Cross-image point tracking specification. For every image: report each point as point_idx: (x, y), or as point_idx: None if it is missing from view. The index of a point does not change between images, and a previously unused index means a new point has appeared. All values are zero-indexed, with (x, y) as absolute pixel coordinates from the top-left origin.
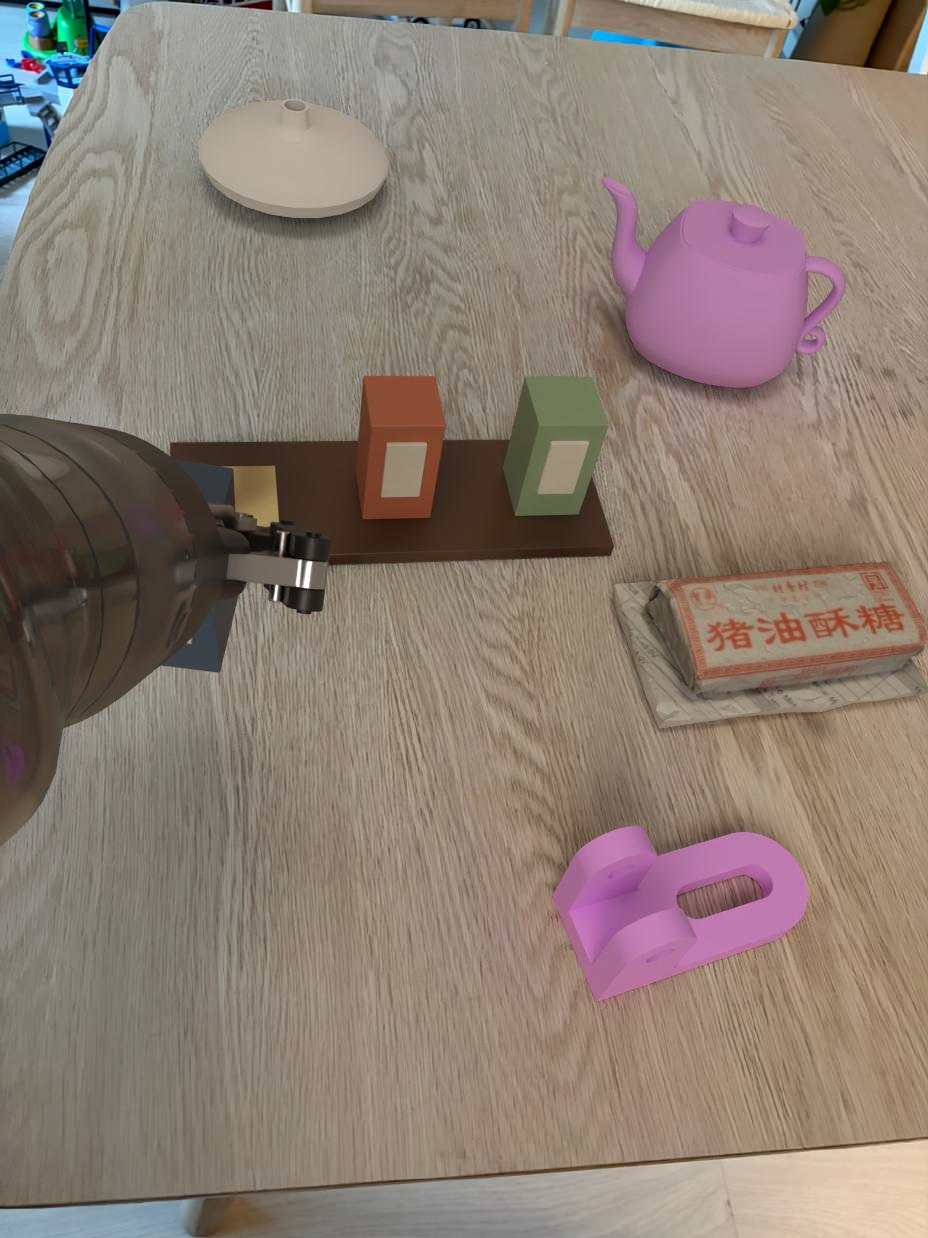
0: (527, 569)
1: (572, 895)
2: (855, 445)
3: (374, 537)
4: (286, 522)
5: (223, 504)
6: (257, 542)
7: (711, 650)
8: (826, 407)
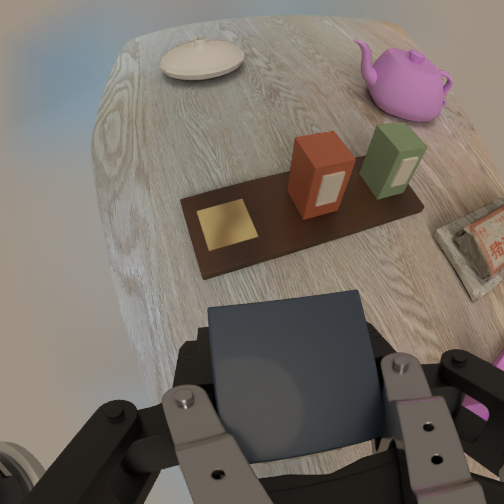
0: (391, 228)
1: (475, 412)
2: (468, 143)
3: (314, 230)
4: (464, 362)
5: (439, 405)
6: (433, 395)
7: (494, 260)
8: (452, 128)
